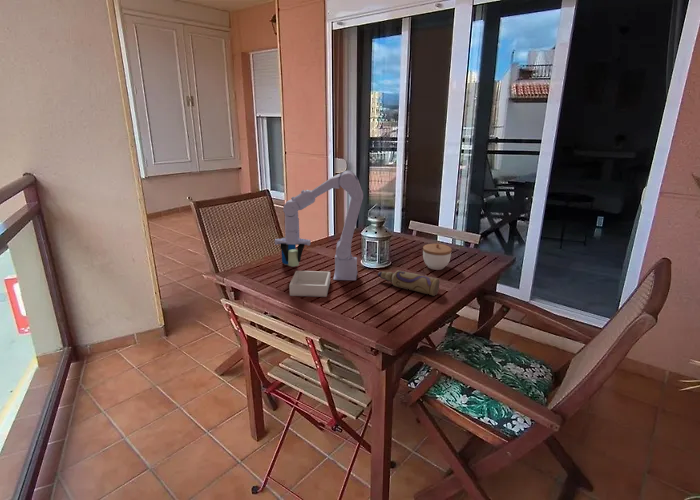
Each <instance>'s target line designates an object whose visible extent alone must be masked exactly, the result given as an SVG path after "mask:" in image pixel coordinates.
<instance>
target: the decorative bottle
mask: <svg viewBox="0 0 700 500" xmlns="http://www.w3.org/2000/svg"><path fill="white" fill-rule="evenodd" d="M377 276H378V277H379V278H381V279H383V280H386V281H387V282H391V283H392V286H394V287H396V288H400V289H403V290H408V289H409V291H414V292H416V293H421V294H425V295H428V294H429V296H432V297H436V296H437V294H438V293H439V290H440V282H441V281H440V279H439V278H436V277H431V276H428V275H427V276H426V275H422V274H419V273H418V274H417V273H413V272H409V271H404V270H395V272H393V271H388V272H386V271H379V272H378V273H377ZM435 295H436V296H435Z"/></svg>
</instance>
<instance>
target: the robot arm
mask: <svg viewBox="0 0 700 500" xmlns="http://www.w3.org/2000/svg"><path fill="white" fill-rule="evenodd" d="M340 188H342V189H343V190H344V191H345V192H347V194H348V195H349V197H350V201H349V206H348V209H347V213H346V217H345V221H344V225H343V229H342V232H341V235H340V238H339V240H337V242H336V249H335V255H334V275H333V278H332V280H334V281H335V280H336V281H357V275H358V257H357V256H353V254H352V242H353V237H354V233H355V229H356V226H357V221H358V220H359V215H360V210H361V207H362V204H363V199H364V191H363V190H362V187H361V184H360V181H359V177H357V175H356V174H355V172H353V170H349V169H347V170H344V171H342V172H341V173H337V174H335V175H334V176H332V177H330V178H328V179H327V180H326V181H324V182H322V183H321V184H320V185H318V186H317V187H315V188H314V189H312V190H310V189H306V190H305V189H302V190H301V191H300V193H299V194H297V195H296V196H292V197H290V198H291V199H289V200H286V202H285V204H284V205H283V207H282V210H283V214H284V232H285V233H284V235H285V236H284V237H285V238H283V237H282V238H283V239H282V238H275V239H274V245H275V246H276V245H279V246H280V250H282V251H283V253H284V255H285V258H286V262H288V244H291V245H296V246H297V247H296V250H298V262H299V263H301V261H302V260H301V259H302V253H303V250H304V248H305V246H311V239H306V238H305V239H304V238H300V218H299V211H302V210H304V209H306V208H307V207H309V206H310V205H312V204H314V203H315V202H316V198H318V197H319V196H321V195H323V194H325V193H327V192H328V191H330V190H332V189H337V190H338V189H339V190H340ZM282 251H281V252H282Z"/></svg>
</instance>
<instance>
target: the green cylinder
mask: <svg viewBox="0 0 700 500" xmlns="http://www.w3.org/2000/svg"><path fill="white" fill-rule="evenodd" d="M299 265H300V262H298V249H296V250H295V249H292V250H288V265H287V266H288V267H298V266H299Z"/></svg>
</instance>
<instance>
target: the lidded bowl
mask: <svg viewBox="0 0 700 500" xmlns="http://www.w3.org/2000/svg"><path fill="white" fill-rule="evenodd" d="M452 252H453V249H452V247H450V245H449V246H448V245H447V244H442V243H439V242H438V243H428V244H425V245H423V247H422V258H423V259H422V260H423V262H424V264H425V265H426V266H427V268H429V269H431V270H434V271H435V270H436V271H440V270H443V269H444V268H445V267H447V266H448V265H449V263H450V260H451V257H452Z"/></svg>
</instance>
